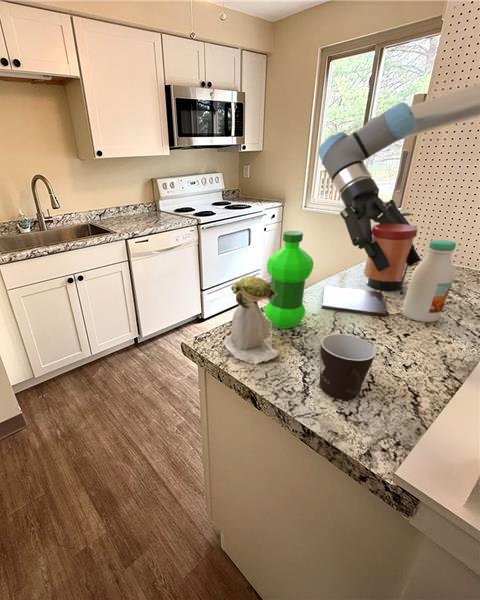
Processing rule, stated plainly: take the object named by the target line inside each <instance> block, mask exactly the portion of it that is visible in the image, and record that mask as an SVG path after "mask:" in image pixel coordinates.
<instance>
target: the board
mask: <svg viewBox="0 0 480 600" xmlns="http://www.w3.org/2000/svg"><path fill="white" fill-rule="evenodd" d="M321 302H322V303H321V307H320V308H321V309H323V310H330V311H337V312H346V313H352V314H361V315H368V316H374V317H375V316H376V317H381V318H386V315H387V312H386V307H385V303H384V298H383V295H382V291H378V290H377V291H376V290H366V289H356V288H347V287H338V286H337V287H336V286H328V285H324V287H323V295H322V300H321Z"/></svg>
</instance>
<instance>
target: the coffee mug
mask: <svg viewBox="0 0 480 600" xmlns="http://www.w3.org/2000/svg"><path fill="white" fill-rule="evenodd" d="M319 355H320V356H319V388H320V389H321V391H322V392H323V393H324V394H326V395H327V396H329V397H330V398H332V399H335V400H340V401H351V400H354V399H356V398H357V396H358V395H359V394H360V392H361V390H362V386H363V384H364V381H365V379H366V377H367V375H368V373H369V370H370V368H371V366H372V364H373V362H374V359H375V357H376V356H377V349H376V348H375V346H374V345H373V344H372V343H370V342H369V341H367V340H365V339H363V338H361V337H358V336H356V335H351V334H345V333H331V334H327V335H325V336H323V337H322V338H321V339H320V353H319Z"/></svg>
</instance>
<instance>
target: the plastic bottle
mask: <svg viewBox="0 0 480 600" xmlns="http://www.w3.org/2000/svg"><path fill="white" fill-rule="evenodd" d="M303 239H304V232H303V231H300V230H287V231H284V232H283V235H282V241H283V242H284V246H283V247H281V248H280V249H278V250H277V251H276V252H274V254H272V255H271V256H269V259H268V260H267V262H266V270H267V271H266V272H267V274H269V276H270V277H271V280H270V288H272V289H273V290H274V291H275V292H276V294H277V295H276V296H274V297H273V298H272V299H269V300H268V303H267V304H266V306H265V307H264V313H265V317H266V318H267V320H268V321H270V323H272V324H273V325H274V326H275V327H278V328H280V329H290V328H293V327H295V326H297V325H299V324H300V323H301V321H302V320H303V319H304V316H305V314H306V308H305V306H304V304H303V300H304V293H305V286H306V280H307V279H309V277H310V276H311V274H312V272H313V269H314V260H313V258H312V256H311V255H309V254H308V252H306V251H305V250H304V249H302V247H300V243H302V242H303Z"/></svg>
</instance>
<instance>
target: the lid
mask: <svg viewBox="0 0 480 600" xmlns="http://www.w3.org/2000/svg"><path fill="white" fill-rule="evenodd" d="M371 229H372V235H373V236H376V237H380V238H387V239H408V238H413V237H414V238H416V237H417V236H416V234H417V233H418V227H417V226H415V225H412V224H410V225H407V224H395V223H387V224H379V223H377V224H374V225H373V226H372V227H371ZM415 236H416V237H415Z"/></svg>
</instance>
